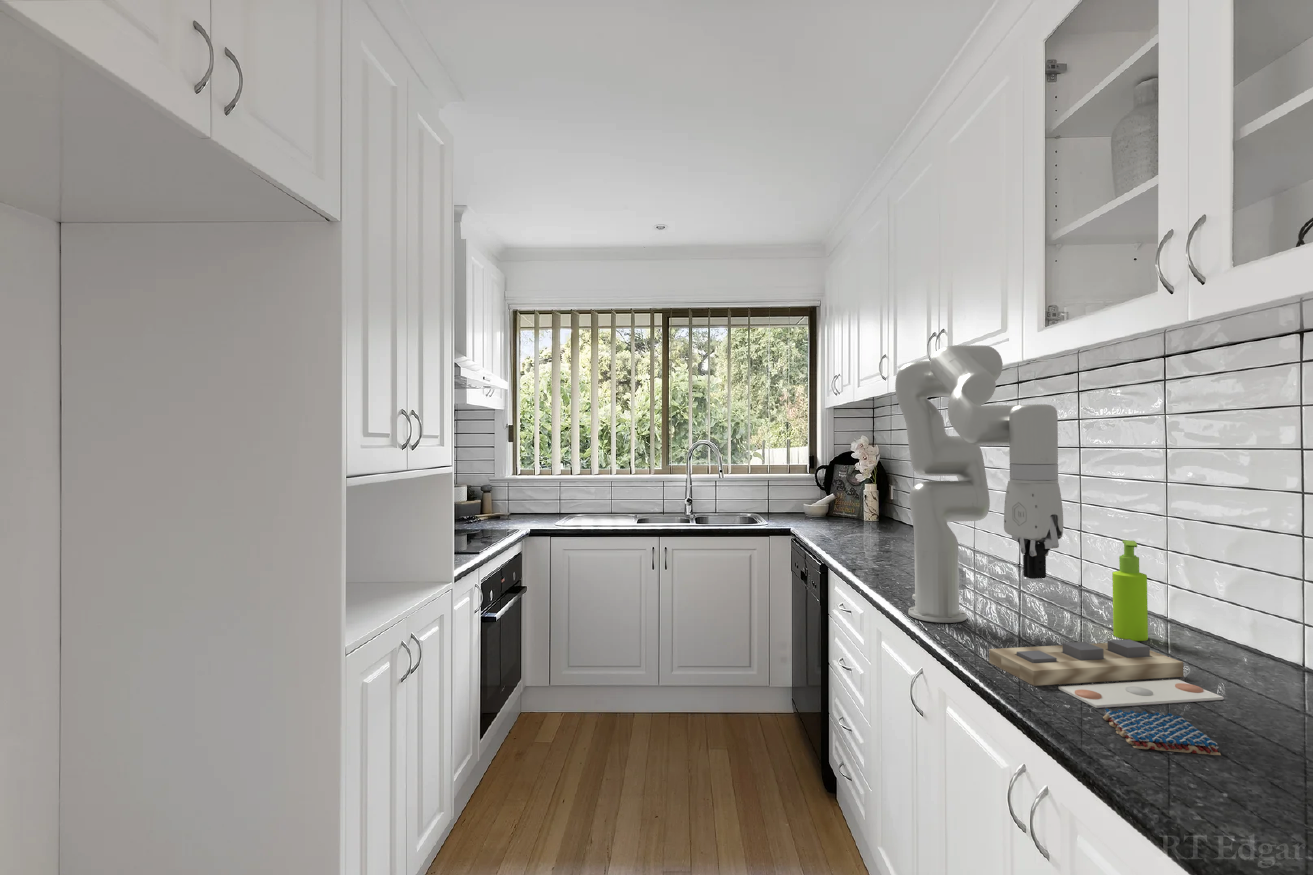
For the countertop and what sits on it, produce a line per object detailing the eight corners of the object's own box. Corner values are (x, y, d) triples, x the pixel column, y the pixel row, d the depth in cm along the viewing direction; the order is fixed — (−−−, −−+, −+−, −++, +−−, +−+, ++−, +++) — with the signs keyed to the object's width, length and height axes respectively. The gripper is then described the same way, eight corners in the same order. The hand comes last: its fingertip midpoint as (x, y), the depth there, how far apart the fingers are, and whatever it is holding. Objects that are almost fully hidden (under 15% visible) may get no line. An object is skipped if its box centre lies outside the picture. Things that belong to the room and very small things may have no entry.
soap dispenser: (1116, 640, 138) (1114, 542, 138) (1111, 631, 144) (1110, 537, 144) (1151, 643, 135) (1149, 543, 135) (1145, 634, 141) (1143, 539, 141)
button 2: (1080, 664, 118) (1080, 650, 118) (1062, 656, 122) (1062, 642, 122) (1103, 663, 118) (1103, 648, 118) (1084, 655, 123) (1084, 641, 123)
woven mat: (1132, 753, 89) (1132, 737, 89) (1100, 720, 100) (1100, 707, 100) (1224, 760, 87) (1224, 745, 87) (1181, 726, 97) (1181, 712, 97)
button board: (1033, 685, 113) (1033, 670, 113) (989, 662, 125) (989, 649, 125) (1183, 676, 116) (1183, 662, 116) (1126, 654, 128) (1126, 641, 128)
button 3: (1127, 661, 119) (1127, 647, 119) (1107, 654, 123) (1107, 640, 123) (1149, 660, 120) (1149, 646, 120) (1129, 652, 124) (1129, 639, 124)
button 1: (1033, 673, 117) (1033, 659, 117) (1016, 665, 121) (1016, 651, 121) (1056, 672, 117) (1056, 658, 117) (1039, 664, 122) (1039, 650, 122)
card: (1096, 707, 103) (1095, 703, 103) (1058, 688, 111) (1058, 685, 111) (1223, 699, 106) (1223, 695, 106) (1178, 681, 114) (1178, 678, 114)
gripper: (988, 472, 126) (989, 570, 126) (1043, 476, 112) (1044, 587, 112) (1025, 471, 127) (1026, 568, 127) (1084, 476, 113) (1085, 585, 113)
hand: (1034, 577), depth 120 cm, fingers closed
